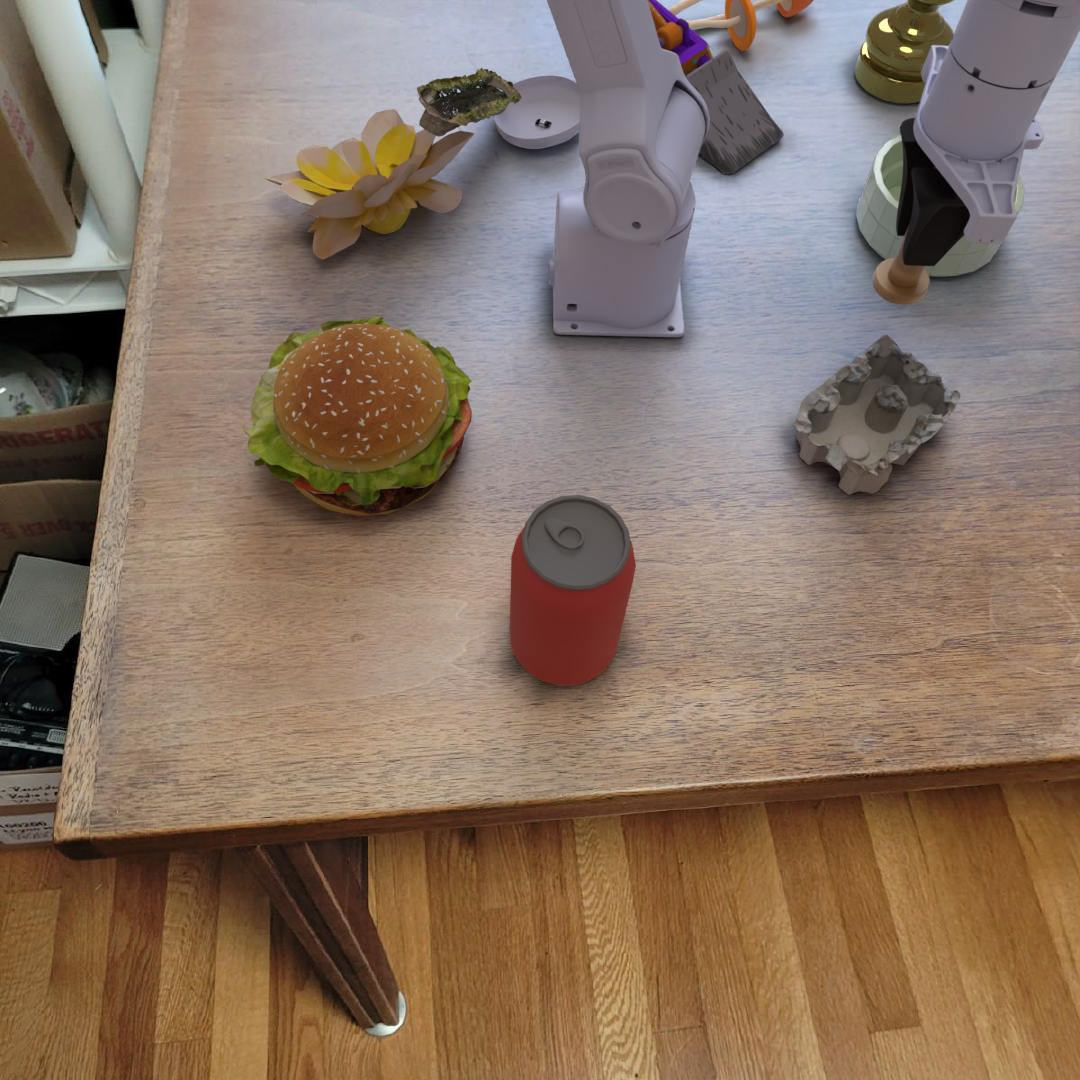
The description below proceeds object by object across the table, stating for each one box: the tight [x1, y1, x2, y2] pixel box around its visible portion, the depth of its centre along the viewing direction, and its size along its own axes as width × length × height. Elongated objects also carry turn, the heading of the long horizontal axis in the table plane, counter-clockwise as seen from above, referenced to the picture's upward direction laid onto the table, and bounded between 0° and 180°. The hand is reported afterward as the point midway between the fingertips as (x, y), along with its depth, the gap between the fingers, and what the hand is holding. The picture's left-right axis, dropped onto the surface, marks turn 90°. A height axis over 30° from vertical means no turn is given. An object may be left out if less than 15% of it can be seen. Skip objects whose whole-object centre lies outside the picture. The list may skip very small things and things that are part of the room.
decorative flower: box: [264, 108, 476, 260], centre depth 77 cm, size 15×11×10 cm
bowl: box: [855, 134, 1026, 278], centre depth 80 cm, size 11×11×5 cm
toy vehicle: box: [648, 0, 784, 175], centre depth 84 cm, size 9×21×15 cm, turn 42°
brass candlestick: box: [854, 0, 955, 105], centre depth 87 cm, size 7×7×10 cm
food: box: [243, 315, 473, 517], centre depth 67 cm, size 14×14×8 cm
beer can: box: [509, 494, 637, 687], centre depth 58 cm, size 7×7×12 cm
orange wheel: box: [668, 0, 815, 52], centre depth 92 cm, size 7×8×15 cm
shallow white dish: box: [492, 75, 581, 150], centre depth 86 cm, size 8×8×2 cm
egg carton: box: [793, 334, 962, 496], centre depth 70 cm, size 11×8×4 cm
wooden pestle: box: [871, 166, 936, 306], centre depth 65 cm, size 4×4×11 cm
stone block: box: [416, 67, 522, 138], centre depth 79 cm, size 14×4×5 cm
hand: (915, 247), depth 67 cm, fingers closed on wooden pestle, 2 cm apart
